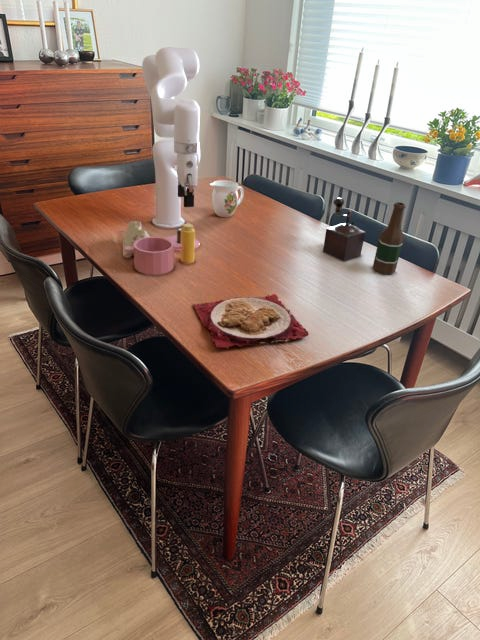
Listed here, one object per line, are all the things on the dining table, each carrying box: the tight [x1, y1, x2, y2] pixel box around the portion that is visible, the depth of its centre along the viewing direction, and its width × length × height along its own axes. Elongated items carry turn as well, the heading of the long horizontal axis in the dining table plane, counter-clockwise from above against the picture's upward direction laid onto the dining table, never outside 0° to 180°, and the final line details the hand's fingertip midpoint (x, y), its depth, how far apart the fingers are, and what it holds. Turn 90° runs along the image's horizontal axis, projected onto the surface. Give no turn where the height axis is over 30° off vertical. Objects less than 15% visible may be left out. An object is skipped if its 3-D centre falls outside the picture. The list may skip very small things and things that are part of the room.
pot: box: [125, 236, 182, 276], centre depth 158 cm, size 13×18×8 cm
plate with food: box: [192, 293, 310, 349], centre depth 134 cm, size 24×26×3 cm
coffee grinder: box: [322, 197, 366, 262], centre depth 178 cm, size 16×11×18 cm
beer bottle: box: [372, 201, 406, 276], centre depth 164 cm, size 8×8×24 cm
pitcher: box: [209, 179, 245, 218], centre depth 204 cm, size 11×18×14 cm, turn 130°
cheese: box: [122, 220, 151, 259], centre depth 168 cm, size 15×7×15 cm
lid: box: [164, 227, 201, 252], centre depth 175 cm, size 14×14×6 cm
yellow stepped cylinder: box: [179, 223, 196, 264], centre depth 162 cm, size 5×5×13 cm
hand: (185, 201), depth 159 cm, fingers open, 9 cm apart
